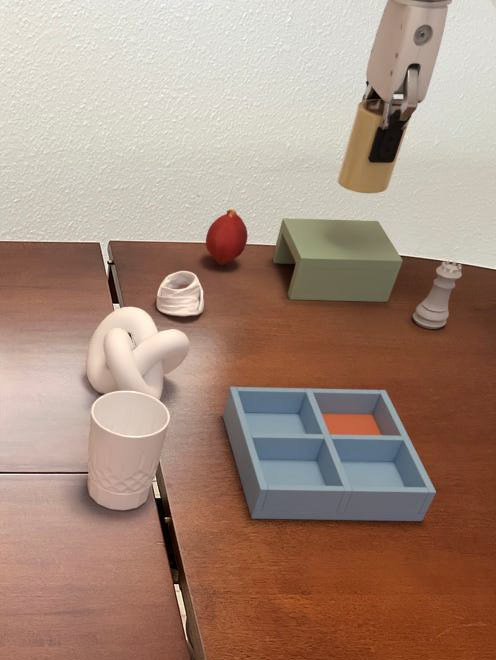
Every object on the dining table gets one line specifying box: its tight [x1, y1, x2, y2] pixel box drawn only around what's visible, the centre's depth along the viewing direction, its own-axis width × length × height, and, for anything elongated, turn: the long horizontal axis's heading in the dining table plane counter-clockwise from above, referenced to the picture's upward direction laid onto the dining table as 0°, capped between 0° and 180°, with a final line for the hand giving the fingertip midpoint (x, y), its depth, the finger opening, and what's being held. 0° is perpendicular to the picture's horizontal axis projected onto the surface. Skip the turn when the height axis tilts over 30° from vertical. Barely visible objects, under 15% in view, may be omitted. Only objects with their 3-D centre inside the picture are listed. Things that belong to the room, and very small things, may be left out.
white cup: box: [86, 391, 171, 511], centre depth 92 cm, size 8×8×10 cm
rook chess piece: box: [412, 260, 463, 330], centre depth 119 cm, size 4×4×8 cm
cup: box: [336, 99, 411, 194], centre depth 115 cm, size 7×7×9 cm
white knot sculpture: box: [85, 306, 190, 401], centre depth 105 cm, size 11×12×9 cm
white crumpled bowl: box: [156, 270, 205, 317], centre depth 120 cm, size 8×7×5 cm
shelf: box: [272, 217, 403, 303], centre depth 126 cm, size 14×12×6 cm
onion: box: [205, 208, 248, 266], centre depth 128 cm, size 6×6×8 cm
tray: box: [222, 386, 437, 522], centre depth 99 cm, size 18×18×4 cm
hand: (372, 149), depth 115 cm, fingers closed on cup, 6 cm apart
